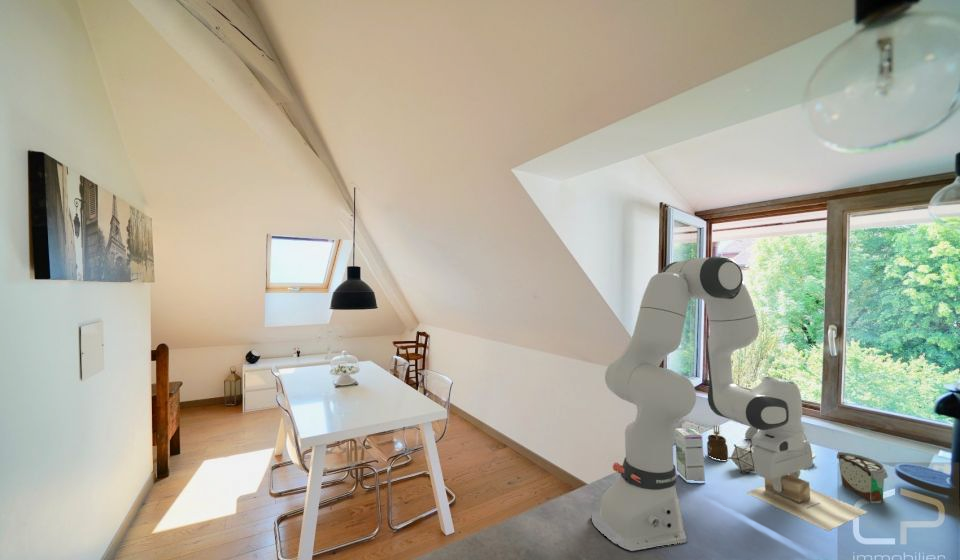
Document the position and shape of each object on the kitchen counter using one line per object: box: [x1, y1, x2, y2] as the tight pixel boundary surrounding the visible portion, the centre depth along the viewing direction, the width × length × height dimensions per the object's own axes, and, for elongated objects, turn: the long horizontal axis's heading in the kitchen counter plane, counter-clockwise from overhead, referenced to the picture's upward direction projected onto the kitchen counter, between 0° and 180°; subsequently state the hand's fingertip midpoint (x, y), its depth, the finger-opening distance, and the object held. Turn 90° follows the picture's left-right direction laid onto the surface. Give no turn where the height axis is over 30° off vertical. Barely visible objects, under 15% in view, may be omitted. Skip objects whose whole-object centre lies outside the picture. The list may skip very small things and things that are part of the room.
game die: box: [728, 444, 756, 474], centre depth 114 cm, size 9×8×10 cm
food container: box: [836, 451, 889, 504], centre depth 98 cm, size 12×6×10 cm, turn 168°
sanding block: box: [764, 474, 811, 504], centre depth 99 cm, size 5×8×4 cm, turn 22°
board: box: [746, 485, 869, 532], centre depth 95 cm, size 18×18×1 cm
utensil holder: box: [706, 424, 729, 461], centre depth 124 cm, size 6×6×12 cm
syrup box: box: [674, 427, 706, 482], centre depth 111 cm, size 6×6×14 cm
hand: (785, 488), depth 99 cm, fingers closed on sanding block, 5 cm apart
